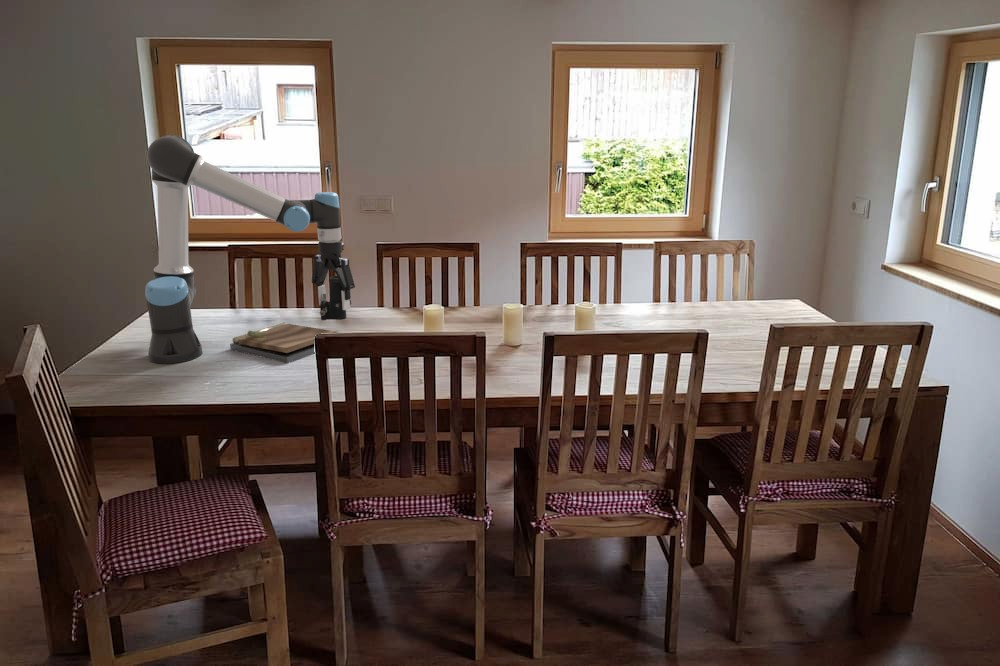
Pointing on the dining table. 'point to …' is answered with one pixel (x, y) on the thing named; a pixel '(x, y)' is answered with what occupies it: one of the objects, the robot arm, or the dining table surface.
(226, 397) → the dining table surface
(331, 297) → the scope
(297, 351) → the stand
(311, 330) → the board
